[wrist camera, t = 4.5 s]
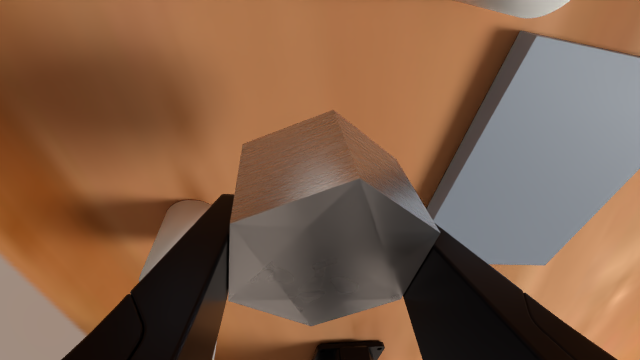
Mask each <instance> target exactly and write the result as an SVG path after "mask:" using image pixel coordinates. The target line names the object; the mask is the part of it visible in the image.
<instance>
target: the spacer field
mask: <svg viewBox="0 0 640 360" xmlns="http://www.w3.org/2000/svg"><path fill="white" fill-rule="evenodd" d="M454 1H458V2H462V3H466V4H469V5H473V6H477V7H481V8H485V9H489V10H493V11H497V12H501V13H504V14H508V15H512V16H516V17H520V18H536V17H541V16H544V15H547V14H549V13H551V12H553V11H555V10H557V9H559V8H560V7H562V6H563V5H565V4H566V3H568V2H569V1H570V0H454ZM210 207H211V205H210V204H208V203H205V202H202V201H198V200H184V201H180V202H177V203H175V204H173V205H172V206H171V207H170V208H169V209H168V210H167V212H166V215H165V217H164V219H163V222H162V224H161V227H160V229H159V231H158V234H157V236H156V239H155V241H154V243H153V246H152V248H151V251H150V253H149V255H148V258H147V260H146V263H145V265H144V267H143V270H142V272H141V275H140V278H139V282H140V281H141V280H142V279H143V278H144V277H145V276H146V274H147V273H148V272H149V271H150V270H151V269H152V268H153V267H154V266H155V265H156V264H157V263H158V262H159V261H160V260H161V259H162V257H163V256H164V255H165V254H166V253H167V252H168V251H169V250H170V249H171V248H172V247H173V246H174V245H175V244H176V243H177V242H178V240H179V239H180V238H181V237H182V236H183V235H184V234H185V233H186V232H187V231H188V230H189V229H190V228H191V227H192V226H193V225H194V223H195V222H196V221H197V220H198V219H199V218H200V217H201V216H202V215H203V214H204V213H205V212H206V211H207V210H208V209H209V208H210Z"/></svg>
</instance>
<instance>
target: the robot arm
mask: <svg viewBox="0 0 640 360" xmlns="http://www.w3.org/2000/svg"><path fill="white" fill-rule="evenodd" d="M233 201H234V194H222V195H221V196H220V197H219V198H218V199H217V200H216V201H215V202H214V203H213V204H212V205H211V207H210V208H209V209H208V210H207V211H206V212H205V213H204V214H203V215H202V216H201V217H200V218H199V219H198V220H197V221H196V222H195V223H194V225H193V226H192V227H191V228H190V229H189V230H188V231H187V232H186V233H185V234H184V235H183V236H182V237H181V238H180V239H179V240H178V242H177V243H176V244H175V245H174V246H173V247H172V248H171V249H170V250H169V251H168V252H167V253H166V254H165V255H164V256H163V257H162V259H161V260H160V261H159V262H158V263H157V264H156V265H155V266H154V267H153V268H152V269H151V270H150V271H149V272H148V273H147V274H146V276H145V277H144V278H143V279H142V280H141V281H140V282H139V283H138V284H137V285H136V286H135V287H134V288H133V289H132V290H131V292H130V293H131V295H130V294H128V295H126V296H125V298H124V299H123V300H122V301H121V302H120V303H119V304H118V305H117V306H116V307H115V308H114V309H113V310H112V311H111V312H110V313H109V314H108V315H107V316H106V317H105V318H104V319H103V320H102V321H101V322H100V323H99V325H98V326H97V327H96V328H95V329H94V330H93V331H92V332H91V333H90V334H89V335H88V336H86V337H85V338H84V339H83V340H82V341H81V342H80V343H79V344H78V345H77V346H76V347H75V348H74V349H72V350H71V352H69V353H68V354H67V355H66V356H65V357H64V358H63V359H62V360H212V358H213V354H214V350H215V346H216V341H217V337H218V333H219V329H220V325H221V321H222V316H223V312H224V308H225V304H226V300H227V295H228V291H229V242H230V219H231V213H232V207H233ZM435 225H436V226H437V228H438V230H439V231H440V235H439V236H438V238H437V240H436V241H435V243H434V245H433V246H432V248H431V250H430V251H429V253H428V255H427V256H426V258H425V260H424V261H423V263H422V264H421V266H420V268H419V269H418V271H417V273H416V274H415V276H414V278H413V279H412V281H411V283H410V284H409V286H408V288H407V289H406V291H405V293H404V294H403V297H404V301H405V304H406V307H407V310H408V314H409V317H410V320H411V323H412V327H413V330H414V333H415V336H416V339H417V343H418V346H419V349H420V352H421V356H422V359H423V360H617V359H616V358H614V357H613V356H611V355H610V354H609V353H607V352H606V351H604V350H603V349H601V348H600V347H599V346H597V345H596V344H594V343H593V342H591V341H590V340H588V339H587V338H586V337H584V336H583V335H581V334H580V333H579V332H577V331H576V330H574V329H573V328H572V327H570V326H569V325H567V324H566V323H565V322H563V321H562V320H560V319H559V318H558V317H556V316H555V315H554V314H552V313H551V312H550V311H548V310H547V309H546V308H544V307H543V306H542V305H540V304H539V303H538V302H537V301H535V300H534V299H533V298H531V297H530V296H529V295H528V294H526V293H523V291H522V290H521V289H520V288H518V287H517V286H516V285H515V284H513V283H512V282H511V281H509V280H508V279H507V278H506V277H504V276H503V275H502V274H500V273H499V272H498V271H496V270H495V269H494V268H493V267H491V266H490V265H489V264H487V263H486V262H485V261H484V260H482V259H481V258H480V257H478V256H477V255H476V254H474V253H473V252H472V251H471V250H469V249H468V248H467V247H465V246H464V245H463V244H462V243H460V242H459V241H458V240H456V239H455V238H454V237H452V236H451V235H450V234H449V233H447V232H446V231H445V230H443V229H442V228H441V227H440V226H438V225H437V224H436V223H435ZM384 348H385V347H384V344H383V342H366V343H341V344H321V345H319V346H317V348H316V351H315V354H314V356H313V359H312V360H377V359H378V358H379V356H380V355H381V353H382V351H383V350H384Z"/></svg>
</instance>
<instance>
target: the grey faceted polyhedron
mask: <svg viewBox="0 0 640 360" xmlns="http://www.w3.org/2000/svg"><path fill="white" fill-rule="evenodd" d="M439 235H440V231H439V230H438V228H437V226H436V225H435V223H434V221H433V220H432V218H431V216H430V215H429V213H428V211H427V210H426V208H425V206H424V205H423V203H422V201H421V200H420V198H419V196H418V195H417V193H416V191H415V190H414V188H413V186H412V185H411V183H410V181H409V179H408V178H407V176H406V174H405V173H404V171H403V169H402V168H401V166H400V164H399V163H398V161H397V159H395V158H394V157H393V156H392V155H390V154H389V153H388V152H386V151H385V150H384V149H383V148H381V147H380V146H379V145H378V144H376V143H375V142H374V141H373V140H371V139H370V138H369V137H367V136H366V135H365V134H364V133H362V132H361V131H360V130H359V129H357V128H356V127H355V126H353V125H352V124H351V123H350V122H348V121H347V120H346V119H345V118H343V117H342V116H341V115H340V114H338V113H337V112H336V111H334V110H331V111H329V112H326V113H324V114H321V115H318V116H316V117H313V118H310V119H308V120H305V121H302V122H300V123H297V124H294V125H292V126H289V127H287V128H284V129H281V130H279V131H276V132H273V133H271V134H268V135H265V136H263V137H260V138H258V139H255V140H252V141H250V142H247V143H244V144H243V145H242V151H241V158H240V164H239V170H238V176H237V182H236V188H235V195H234V201H233V207H232V213H231V219H230V242H229V299H228V301H231V302H234V303H237V304H241V305H244V306H247V307H250V308H254V309H257V310H260V311H263V312H267V313H270V314H273V315H276V316H280V317H283V318H286V319H289V320H293V321H296V322H299V323H302V324H306V325H309V326H313V325H317V324H320V323H323V322H327V321H330V320H333V319H337V318H340V317H343V316H347V315H350V314H353V313H357V312H360V311H363V310H367V309H370V308H373V307H377V306H380V305H383V304H387V303H390V302H393V301H397V300H400V299H401V298H402V296H403V294H404V293H405V291H406V289H407V288H408V286H409V284H410V283H411V281H412V279H413V278H414V276H415V274H416V273H417V271H418V269H419V268H420V266H421V264H422V263H423V261H424V260H425V258H426V256H427V255H428V253H429V251H430V250H431V248H432V246H433V245H434V243H435V241H436V240H437V238H438V236H439Z"/></svg>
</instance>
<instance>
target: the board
mask: <svg viewBox="0 0 640 360" xmlns="http://www.w3.org/2000/svg"><path fill="white" fill-rule="evenodd" d="M639 169H640V57H639V56H635V55H630V54H626V53H621V52H617V51H612V50H607V49H603V48H598V47H594V46H589V45H584V44H580V43H575V42H571V41H566V40H561V39H557V38H552V37H548V36H543V35H538V34H534V33H529V32H525V31H520V32H519V34H518V36H517V38H516V40H515V42H514V44H513V46H512V48H511V49H510V51H509V53H508V55H507V57H506V59H505V61H504V63H503V65H502V67H501V68H500V70H499V72H498V74H497V76H496V78H495V80H494V82H493V84H492V85H491V87H490V89H489V91H488V93H487V95H486V97H485V99H484V101H483V103H482V104H481V106H480V108H479V110H478V112H477V114H476V116H475V118H474V120H473V121H472V123H471V125H470V127H469V129H468V131H467V133H466V135H465V137H464V139H463V140H462V142H461V144H460V146H459V148H458V150H457V152H456V154H455V156H454V157H453V159H452V161H451V163H450V165H449V167H448V169H447V171H446V173H445V175H444V176H443V178H442V180H441V182H440V184H439V186H438V188H437V190H436V192H435V193H434V195H433V197H432V199H431V201H430V203H429V205H428V207H427V209H426V210H427V211H428V213H429V215H430V216H431V218H432V220H433V221H434V223H436V224H437V225H438V226H440V227H441V228H442V229H443V230H445V231H446V232H447V233H449V234H450V235H451V236H452V237H454V238H455V239H456V240H458V241H459V242H460V243H462V244H463V245H464V246H465V247H467V248H468V249H469V250H471V251H472V252H473V253H474V254H476V255H477V256H478V257H480V258H481V259H482V260H484V261H485V262H486V263H487V264H507V265H546V264H547V263H548V262H549V261H550V260H551V259H552V258H553V257H554V255H555V254H556V253H557V252H558V251H559V250H560V249H561V248H562V247H563V246H564V245H565V244H566V243H567V242H568V241H569V240H570V239H571V238H572V237H573V236H574V235H575V234H576V233H577V232H578V231H579V230H580V229H581V228H582V227H583V226H584V225H585V224H586V223H587V222H588V221H589V220H590V219H591V218H592V217H593V216H594V215H595V214H596V213H597V212H598V211H599V210H600V209H601V208H602V207H603V205H604V204H605V203H606V202H607V201H608V200H609V199H610V198H611V197H612V196H613V195H614V194H615V193H616V192H617V191H618V190H619V189H620V188H621V187H622V186H623V185H624V184H625V183H626V182H627V181H628V180H629V179H630V178H631V177H632V176H633V175H634V174H635V173H636V172H637V171H638V170H639Z"/></svg>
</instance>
